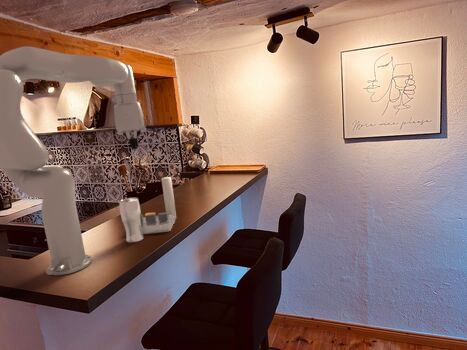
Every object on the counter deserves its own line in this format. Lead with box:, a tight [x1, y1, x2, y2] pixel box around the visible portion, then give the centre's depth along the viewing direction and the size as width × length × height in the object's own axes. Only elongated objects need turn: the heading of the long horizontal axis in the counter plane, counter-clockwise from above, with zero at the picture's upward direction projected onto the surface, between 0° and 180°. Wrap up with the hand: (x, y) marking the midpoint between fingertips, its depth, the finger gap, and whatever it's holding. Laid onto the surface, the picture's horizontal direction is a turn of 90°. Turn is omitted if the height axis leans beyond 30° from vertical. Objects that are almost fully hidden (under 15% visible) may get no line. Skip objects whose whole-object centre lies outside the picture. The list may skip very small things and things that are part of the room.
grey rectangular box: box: [157, 211, 169, 221], centre depth 134 cm, size 2×4×2 cm, turn 90°
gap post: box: [161, 176, 177, 220], centre depth 143 cm, size 4×4×18 cm
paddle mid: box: [144, 212, 157, 222], centre depth 134 cm, size 2×4×3 cm, turn 90°
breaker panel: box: [141, 215, 176, 235], centre depth 135 cm, size 12×16×3 cm
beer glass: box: [118, 197, 144, 243], centre depth 123 cm, size 7×7×15 cm
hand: (135, 148), depth 129 cm, fingers closed
